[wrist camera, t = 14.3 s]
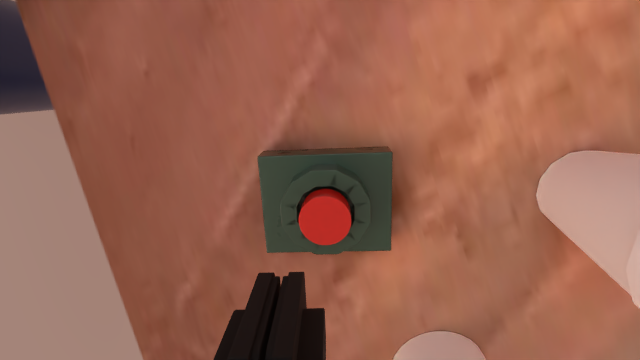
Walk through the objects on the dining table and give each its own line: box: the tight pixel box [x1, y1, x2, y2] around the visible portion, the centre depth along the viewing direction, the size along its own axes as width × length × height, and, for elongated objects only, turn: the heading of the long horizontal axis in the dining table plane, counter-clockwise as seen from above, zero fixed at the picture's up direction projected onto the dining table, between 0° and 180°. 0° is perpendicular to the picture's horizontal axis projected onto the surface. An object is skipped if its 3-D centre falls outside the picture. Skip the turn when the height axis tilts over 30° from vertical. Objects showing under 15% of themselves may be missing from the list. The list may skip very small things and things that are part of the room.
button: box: [299, 189, 351, 245], centre depth 23 cm, size 4×4×2 cm
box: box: [258, 147, 393, 254], centre depth 26 cm, size 10×8×4 cm
